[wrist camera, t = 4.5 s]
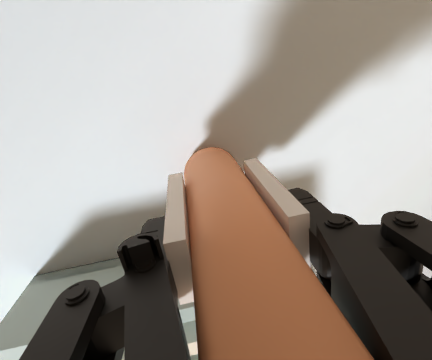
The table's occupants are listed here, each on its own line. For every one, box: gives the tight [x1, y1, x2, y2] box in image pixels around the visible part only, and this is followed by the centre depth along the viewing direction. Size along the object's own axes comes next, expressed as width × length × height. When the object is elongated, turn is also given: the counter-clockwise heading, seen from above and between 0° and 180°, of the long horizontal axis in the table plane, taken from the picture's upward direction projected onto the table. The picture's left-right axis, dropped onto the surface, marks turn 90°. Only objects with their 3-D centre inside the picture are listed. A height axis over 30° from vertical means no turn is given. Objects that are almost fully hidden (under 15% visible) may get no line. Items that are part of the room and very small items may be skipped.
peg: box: [184, 147, 374, 360], centre depth 11 cm, size 4×4×14 cm
